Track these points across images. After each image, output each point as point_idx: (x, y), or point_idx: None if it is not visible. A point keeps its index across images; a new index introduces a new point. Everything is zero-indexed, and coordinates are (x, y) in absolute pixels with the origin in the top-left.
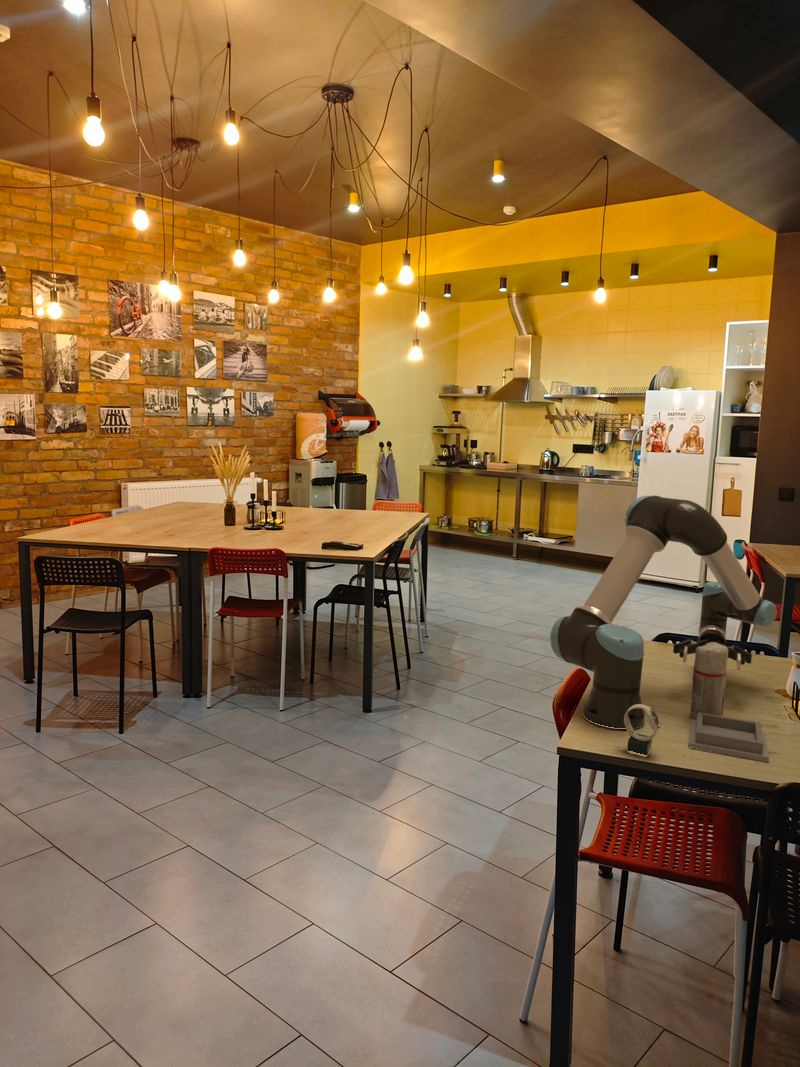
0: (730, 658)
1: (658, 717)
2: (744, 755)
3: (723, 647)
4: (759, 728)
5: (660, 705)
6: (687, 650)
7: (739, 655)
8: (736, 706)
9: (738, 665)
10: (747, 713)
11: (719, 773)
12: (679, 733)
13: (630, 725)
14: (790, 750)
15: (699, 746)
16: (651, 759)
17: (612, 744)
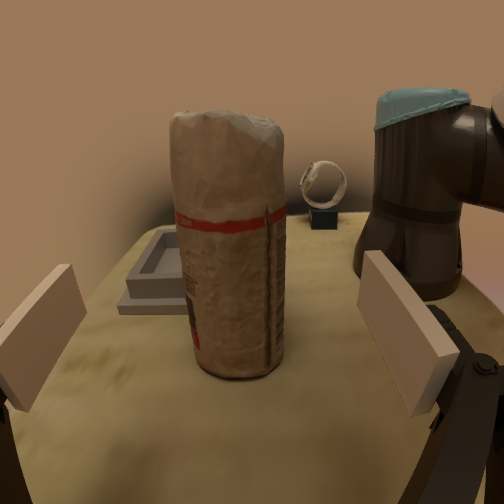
0: (27, 490)
1: (305, 180)
2: None
3: (188, 112)
4: (140, 260)
5: (378, 372)
6: (439, 428)
7: (10, 321)
8: (122, 482)
9: (75, 291)
10: (103, 428)
11: None
12: (287, 270)
13: (338, 194)
14: (101, 284)
15: None
16: (302, 218)
17: (357, 225)
